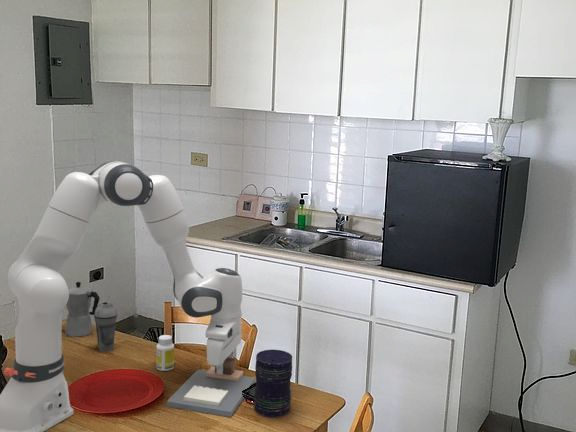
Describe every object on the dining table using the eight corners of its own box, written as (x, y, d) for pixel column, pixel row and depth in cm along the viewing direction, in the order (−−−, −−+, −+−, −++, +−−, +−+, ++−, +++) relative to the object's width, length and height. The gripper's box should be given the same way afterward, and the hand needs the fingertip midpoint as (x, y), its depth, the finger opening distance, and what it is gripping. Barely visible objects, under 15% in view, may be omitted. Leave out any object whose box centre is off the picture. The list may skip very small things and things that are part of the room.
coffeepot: (54, 332, 220) (53, 282, 217) (73, 324, 229) (73, 275, 226) (89, 341, 214) (89, 289, 211) (108, 332, 223) (108, 282, 220)
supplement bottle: (176, 364, 199) (176, 334, 197) (171, 372, 193) (171, 341, 192) (159, 363, 199) (159, 333, 197) (153, 370, 194) (154, 339, 192)
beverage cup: (93, 345, 211) (93, 286, 207) (116, 344, 213) (116, 285, 209) (94, 354, 204) (93, 293, 200) (118, 352, 206) (118, 292, 203)
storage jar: (256, 398, 179) (258, 347, 176) (292, 402, 178) (294, 351, 175) (250, 415, 169) (252, 362, 166) (288, 419, 168) (290, 365, 165)
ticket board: (230, 417, 168) (230, 407, 167) (166, 406, 172) (166, 397, 171) (255, 382, 189) (255, 374, 188) (197, 374, 193) (197, 365, 192)
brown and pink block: (238, 381, 185) (238, 364, 185) (205, 376, 188) (205, 360, 187) (243, 374, 190) (243, 358, 189) (211, 369, 192) (211, 353, 192)
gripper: (227, 311, 197) (226, 354, 199) (203, 333, 177) (201, 380, 180) (247, 313, 195) (245, 356, 198) (224, 336, 176) (223, 384, 178)
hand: (224, 368), depth 189 cm, fingers open, 6 cm apart
